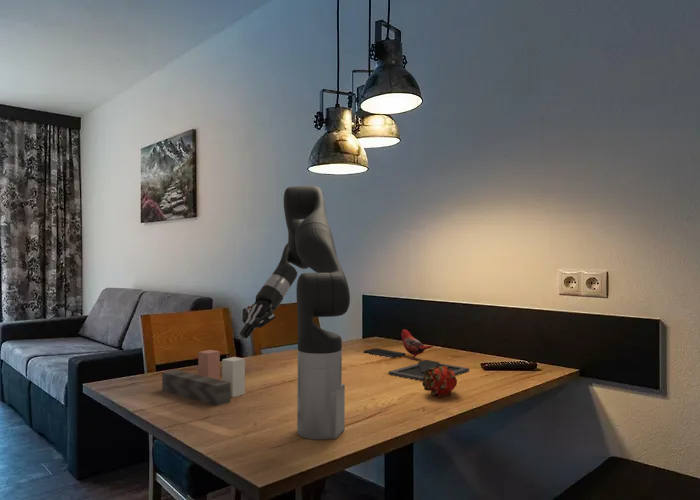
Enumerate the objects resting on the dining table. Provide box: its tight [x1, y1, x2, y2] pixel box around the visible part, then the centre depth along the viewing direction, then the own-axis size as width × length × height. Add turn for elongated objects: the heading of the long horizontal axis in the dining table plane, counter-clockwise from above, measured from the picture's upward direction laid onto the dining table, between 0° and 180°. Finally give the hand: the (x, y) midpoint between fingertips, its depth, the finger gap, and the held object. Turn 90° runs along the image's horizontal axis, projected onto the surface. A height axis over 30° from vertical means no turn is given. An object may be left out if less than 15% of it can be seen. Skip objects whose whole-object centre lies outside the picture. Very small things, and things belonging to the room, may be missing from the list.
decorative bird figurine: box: [400, 328, 434, 360], centre depth 179 cm, size 3×18×10 cm, turn 33°
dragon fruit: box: [421, 366, 458, 398], centre depth 135 cm, size 8×8×12 cm
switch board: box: [161, 369, 231, 407], centre depth 133 cm, size 23×16×6 cm
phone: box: [363, 347, 407, 359], centre depth 189 cm, size 8×1×15 cm
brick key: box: [197, 349, 221, 380], centre depth 140 cm, size 4×4×9 cm
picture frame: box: [388, 359, 470, 382], centre depth 160 cm, size 16×2×21 cm
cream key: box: [221, 356, 246, 398], centre depth 130 cm, size 4×4×9 cm
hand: (243, 336), depth 150 cm, fingers closed
